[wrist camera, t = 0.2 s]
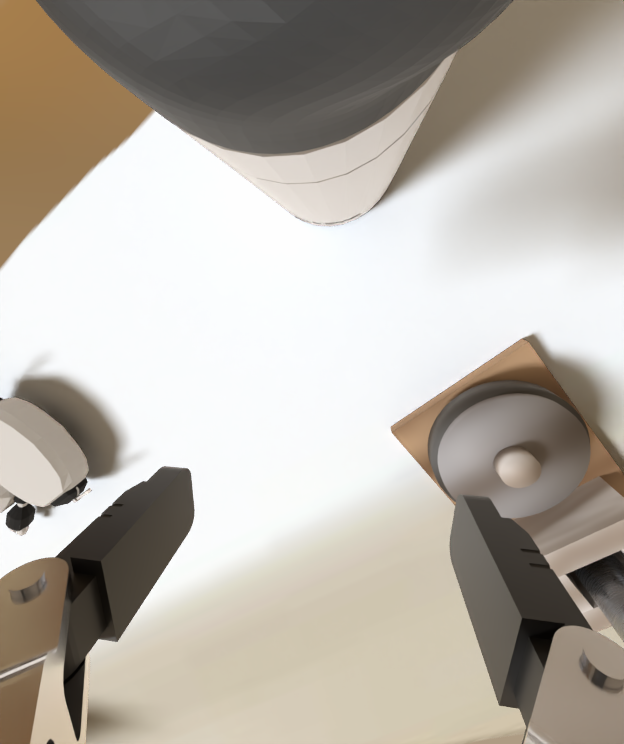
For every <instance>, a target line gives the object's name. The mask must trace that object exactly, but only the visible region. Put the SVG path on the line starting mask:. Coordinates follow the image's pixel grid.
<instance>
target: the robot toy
mask: <svg viewBox="0 0 624 744" xmlns="http://www.w3.org/2000/svg"><path fill="white" fill-rule="evenodd" d="M88 472H89V468H88V464H87V458H86V456H85V455H84V453H83V451H82V450H81V448H80V447H79V445H78V444H77V443H76V441H75V440H74V439H73V438H72V437H71V435H70V434H69V433H68V432H67V430H66V429H65V428H64V427H63V426H62V425H61V424H60V423H58V422H57V421H56V420H55V419H53V418H52V417H51V416H50V415H48V414H47V413H46V412H45V411H43V410H42V409H40V408H38V407H37V406H35V405H34V404H32V403H30V402H28V401H25V400H22V399H19V398H16V397H13V398H8V399H2V398H0V513H1V512H3V511H4V510H5V509H7V508H8V507H10V506H11V505H12V504H14V503H15V502H16V503H17V504H16V505H15V506H14V507H13V508H12V509H11V510H10V511H9V512H8V513H7V518H6V525H7V527H8V528H10V530H11V531H13V532H16V531H17V534H19V535H21V536H22V535H24V534H26V532H27V530H28V528H29V524H30V523H31V522H32V521H33V520H34V514H35V508H34V507H33V506H32V505H36V506H40V507H45V506H48V505H53V506H59V505H63V504H68V503H69V502H71V501H73V502H75V503H76V502H77V501H78V500H79V499H81V498H82V497H83V496H84V495H87V494H88V493H89V492H91V491H92V490H91V489H90V488H89V489H88V490H87V491H85V492H84V493H83V494H81V493H82V492H83V491H84V488H85V486H86V484H87V479H86V475H87V473H88ZM79 494H81V495H79ZM31 504H32V505H31Z"/></svg>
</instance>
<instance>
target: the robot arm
mask: <svg viewBox="0 0 624 744" xmlns="http://www.w3.org/2000/svg"><path fill="white" fill-rule="evenodd" d="M36 1H37V2H38V3H39V5H40V6H41V7H42V8H43V9H44V11H45V12H46V13H47V14H48V16H49V17H50V18H51V19H52V20H53V21H54V22H55V23H56V24H57V25H58V27H59V28H60V29H61V30H62V31H63V32H64V33H65V34H66V35H67V36H68V37H69V38H70V39H71V41H73V43H75V44H76V45H77V46H78V47H79V48H80V49H81V50H82V51H83V52H84V53H85V54H86V55H87V56H89V58H91V59H92V60H93V61H94V62H95V63H96V64H97V65H98V66H99V67H100V68H101V69H103V70H104V71H105V72H106V73H107V74H109V75H110V76H111V77H112V78H114V79H115V80H116V81H117V82H119V83H120V84H121V85H122V86H124V87H125V88H126V89H128V90H129V91H130V92H132V93H133V94H134V95H135V96H137V97H138V98H139V99H141V100H142V101H143V102H144V103H146V104H147V105H148V106H150V107H151V108H152V109H154V110H155V111H156V112H157V113H159V114H160V115H161V116H163V117H164V118H165V119H167V120H168V121H170V122H171V123H173V124H174V125H176V126H177V127H178V128H180V129H181V130H182V131H183V132H185V133H186V134H187V135H189V136H190V137H191V138H193V139H194V140H195V141H197V142H198V143H199V144H200V145H202V146H203V147H204V148H206V149H207V150H208V151H210V152H211V153H212V154H214V155H215V156H216V157H218V158H219V159H220V160H222V161H223V162H224V163H226V164H227V165H228V166H230V167H231V168H232V169H233V170H235V171H236V172H237V173H239V174H240V175H241V176H242V177H244V178H245V179H246V180H248V181H249V182H250V183H252V184H253V185H254V186H255V187H257V188H258V189H259V190H261V191H262V192H263V193H264V194H266V195H267V196H268V197H270V198H271V199H272V200H274V201H275V202H276V203H277V204H279V205H280V206H281V207H282V208H284V209H285V210H286V211H288V212H289V213H290V214H292V215H294V216H295V217H296V218H298V219H300V220H302V221H304V222H307V223H310V224H313V225H318V226H335V225H342V224H345V223H348V222H350V221H353V220H356V219H357V218H359V217H360V216H362V215H363V214H365V213H366V212H368V211H369V210H370V209H371V208H372V207H373V206H374V205H375V204H376V203H377V202H378V201H379V200H380V199H381V197H382V196H383V194H384V193H385V191H386V190H387V188H388V187H389V185H390V183H391V181H392V179H393V177H394V175H395V174H396V172H397V170H398V168H399V166H400V164H401V162H402V160H403V158H404V156H405V154H406V152H407V150H408V148H409V146H410V144H411V142H412V140H413V138H414V136H415V134H416V132H417V131H418V129H419V127H420V125H421V123H422V121H423V119H424V117H425V115H426V113H427V111H428V109H429V107H430V105H431V103H432V101H433V99H434V97H435V95H436V93H437V91H438V89H439V87H440V85H441V84H442V82H443V80H444V78H445V76H446V74H447V72H448V70H449V68H450V66H451V63H452V61H453V59H454V57H455V55H456V53H457V51H458V50H459V49H460V48H461V47H463V46H464V45H465V44H467V43H468V42H469V41H471V40H472V39H473V38H475V37H476V36H477V35H478V34H479V33H480V32H481V31H482V30H484V29H485V28H486V27H487V26H488V25H489V24H490V23H491V22H492V21H493V20H494V19H496V18H497V17H498V16H499V15H500V14H501V13H502V12H503V11H504V10H505V9H506V7H507V6H508V5H509V4H510V3H511V2H512V1H513V0H36ZM193 519H194V501H193V491H192V480H191V473H190V471H189V469H187V468H177V467H166V466H164V467H161V468H160V469H159V470H158V471H157V472H156V473H155V474H154V475H153V476H152V477H151V478H150V479H149V480H148V481H147V482H145V481H143V482H141V483H139V484H138V485H136V486H134V487H132V488H130V489H129V490H127V491H125V492H124V493H123V494H122V495H121V496H120V497H119V498H118V499H117V500H116V501H115V502H114V503H113V505H112V506H109V507H108V508H107V509H106V510H105V511H104V512H103V513H102V515H101V517H98V518H97V519H95V520H94V521H93V522H92V523H91V524H90V525H89V526H88V527H87V528H86V529H85V530H84V531H83V532H82V533H80V534H79V535H78V536H77V537H76V538H75V539H74V540H73V541H72V542H71V543H70V544H69V545H68V546H67V547H66V548H64V549H63V550H62V551H61V552H60V553H59V554H58V555H57V556H56V557H55V558H54V557H50V558H42V559H38V560H34V561H32V562H29V563H26V564H24V565H22V566H20V567H18V568H16V569H14V570H13V571H11V572H9V573H8V574H6V575H5V576H4V577H2V578H1V579H0V744H86V729H87V711H88V692H89V674H90V655H89V651H90V650H91V649H92V647H93V646H94V644H95V643H96V641H97V640H98V639H102V640H108V641H115V642H117V641H118V640H119V638H120V637H121V635H122V634H123V632H124V631H125V629H126V628H127V626H128V625H129V623H130V622H131V620H132V618H133V617H134V615H135V614H136V612H137V611H138V609H139V608H140V606H141V605H142V603H143V602H144V600H145V599H146V597H147V595H148V594H149V592H150V591H151V589H152V588H153V586H154V585H155V583H156V582H157V580H158V579H159V577H160V576H161V574H162V573H163V571H164V569H165V568H166V566H167V565H168V563H169V562H170V560H171V559H172V557H173V556H174V554H175V553H176V551H177V550H178V548H179V546H180V545H181V543H182V542H183V540H184V539H185V537H186V536H187V534H188V533H189V531H190V529H191V526H192V523H193ZM450 555H451V561H452V565H453V568H454V571H455V574H456V577H457V580H458V583H459V586H460V589H461V592H462V595H463V598H464V601H465V604H466V607H467V610H468V613H469V616H470V619H471V622H472V625H473V628H474V631H475V634H476V637H477V640H478V643H479V646H480V649H481V652H482V655H483V658H484V661H485V664H486V667H487V670H488V673H489V676H490V679H491V682H492V685H493V688H494V691H495V694H496V697H497V700H498V703H499V705H500V706H506V707H512V708H518V709H520V711H521V714H522V717H523V719H524V722H525V725H526V730H525V733H524V737H523V740H522V744H624V648H622V647H621V646H619V645H618V644H617V643H615V642H614V641H612V640H611V639H609V638H607V637H606V636H604V635H602V634H600V633H598V632H595V631H593V629H592V628H591V626H590V625H589V623H588V622H587V620H586V619H585V617H584V616H583V614H582V613H581V611H580V610H579V608H578V607H577V605H576V604H575V602H574V601H573V599H572V598H571V596H570V595H569V593H568V592H567V590H566V589H565V587H564V586H563V584H562V583H561V581H560V580H559V578H558V577H557V575H556V574H555V572H554V571H553V569H550V565H549V563H548V562H547V560H546V559H545V557H544V556H543V554H540V550H539V548H538V547H537V545H536V544H535V542H534V541H533V539H532V538H531V536H530V535H529V533H528V532H526V531H525V530H524V529H523V528H522V527H520V526H519V525H518V524H517V523H516V522H515V521H513V520H512V519H511V518H503V517H501V516H500V514H499V512H498V511H497V509H496V507H495V506H494V504H493V502H492V501H491V499H490V498H489V497H484V496H473V495H462V494H460V495H458V497H457V500H456V505H455V511H454V518H453V524H452V530H451V536H450Z"/></svg>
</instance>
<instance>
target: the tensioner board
mask: <svg viewBox="0 0 624 744" xmlns="http://www.w3.org/2000/svg"><path fill="white" fill-rule="evenodd" d="M391 431H392V433H393V435H394V436H395V437H396V438H397V439H398V440H399V441H400V443H401V444H402V445H403V446H404V447H405V448H406V449H407V451H408V452H409V453H410V454H411V455H412V456H413V458H414V459H415V460H416V461H417V462H418V463H419V464H420V466H421V467H422V468H423V469H424V470H425V471H426V473H427V474H428V475H429V476H430V477H431V478H432V479H433V481H434V482H435V483H436V484H437V485H438V486H439V487H440V489H441V490H442V491H443V492H444V493H445V494H446V496H447V497H448V498H449V499H450V500H451V501H452V502H453V504H454V505H456V500H457V497H458V495H460V494H462V495H473V496H484V497H489V498H490V499H491V501H492V502H493V504H494V506H495V507H496V509H497V511H498V512H499V514H500V516H501V517H503V518H511V519H512V520H513V521H515V522H516V523H517V524H518V525H519V526H520V527H522V528H523V529H524V530H525V531H526V532H528V533H529V535H530V536H531V538H532V539H533V541H534V542H535V544H536V545H537V547H538V548H539V550H540V554H543V556H544V557H545V559H546V560H547V562H548V563H549V565H550V569H553V571H554V572H555V574H556V575H557V577H558V578H559V580H560V581H561V583H562V584H563V586H564V587H565V589H566V590H567V592H568V593H569V595H570V596H571V598H572V599H573V601H574V602H575V604H576V605H577V607H578V608H579V610H580V611H581V613H582V614H583V616H584V617H585V619H586V620H587V622H588V623H589V625H590V626H591V628H592V629H593V631H595V632H598V631H601V630H603V629H606V628H609V627H611V626H612V625H611V624H610V622H609V621H608V619H607V618H606V617H605V615H604V614H603V612H602V611H601V610H600V608H599V607H598V605H597V604H596V602H595V601H594V600H593V598H592V597H591V595H590V594H589V593H588V591H587V590H586V588H585V587H584V586H583V584H582V583H581V581H580V580H579V579H578V577H577V576H576V574H575V573H574V572H573V571H574V570H577V569H579V568H581V567H584V566H586V565H588V564H590V563H593V562H595V561H597V560H600V559H602V558H604V557H607V556H609V555H611V554H614V555H615V556H616V557H617V558H618V560H619V561H620V562H621V563H622V564H623V565H624V474H623V472H622V471H621V470H620V468H619V467H618V465H617V464H616V463H615V461H614V460H613V458H612V457H611V456H610V454H609V453H608V451H607V450H606V449H605V447H604V446H603V445H602V443H601V442H600V440H599V439H598V438H597V436H596V435H595V433H594V432H593V431H592V429H591V428H590V427H589V425H588V424H587V422H586V421H585V420H584V418H583V417H582V415H581V414H580V413H579V411H578V410H577V409H576V407H575V406H574V404H573V403H572V402H571V400H570V399H569V397H568V396H567V395H566V393H565V392H564V390H563V389H562V388H561V386H560V385H559V384H558V382H557V381H556V379H555V378H554V377H553V375H552V374H551V372H550V371H549V370H548V368H547V367H546V366H545V364H544V363H543V361H542V360H541V359H540V357H539V356H538V354H537V353H536V352H535V350H534V349H533V347H532V346H531V345H530V343H529V342H528V341H525V340H523V339H521V340H519V341H518V342H516V343H515V344H513V345H512V346H510V347H509V348H507V349H506V350H504V351H503V352H501V353H500V354H498V355H497V356H496V357H494V358H493V359H491V360H490V361H488V362H487V363H485V364H484V365H482V366H481V367H479V368H478V369H476V370H475V371H473V372H472V373H470V374H469V375H467V376H466V377H464V378H463V379H461V380H460V381H458V382H457V383H455V384H454V385H452V386H451V387H449V388H448V389H446V390H445V391H443V392H442V393H440V394H439V395H437V396H436V397H435V398H433V399H432V400H430V401H429V402H427V403H426V404H424V405H423V406H421V407H420V408H418V409H417V410H415V411H414V412H412V413H411V414H409V415H408V416H406V417H405V418H403V419H402V420H400V421H399V422H397V423H396V424H394V425H393V426H391Z"/></svg>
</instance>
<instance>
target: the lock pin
mask: <svg viewBox="0 0 624 744" xmlns="http://www.w3.org/2000/svg"><path fill="white" fill-rule="evenodd" d="M573 572H574V573H575V574H576V576H577V577H578V579H579V580H580V581H581V583H582V584H583V586H584V587H585V588H586V590H587V591H588V593H589V594H590V595H591V597H592V598H593V600H594V601H595V602H596V604H597V605H598V607H599V608H600V610H601V611H602V612H603V614H604V615H605V617H606V618H607V619H608V621H609V622H610V624H611V625H612V626H613V628H614V629H615V631H616V632H617V633H618V635H619V636H620V638H621V639H622V640H623V642H624V565H623V564H622V563H621V562H620V561H619V560H618V558H617V557H616V556H615V555H614V554H611V555H609V556H607V557H604V558H602V559H600V560H597V561H595V562H593V563H590V564H588V565H586V566H584V567H581V568H579V569H577V570H574V571H573Z"/></svg>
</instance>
